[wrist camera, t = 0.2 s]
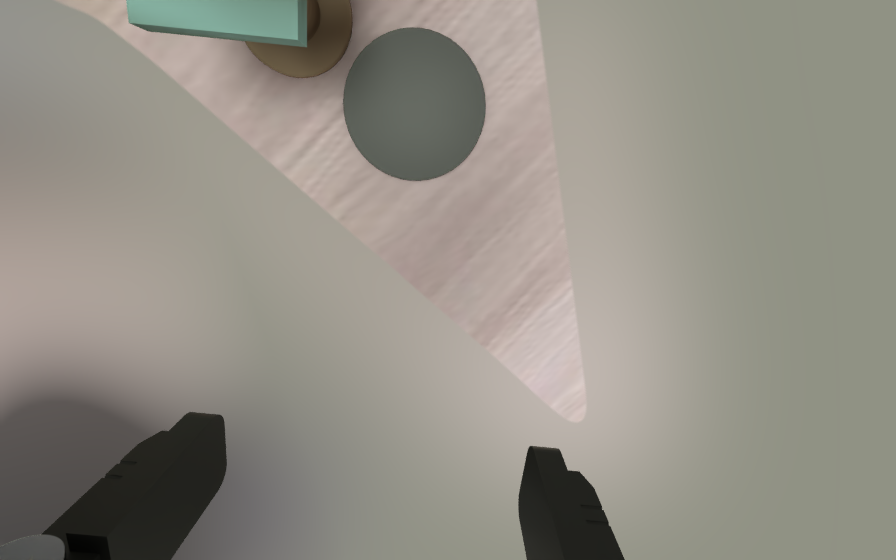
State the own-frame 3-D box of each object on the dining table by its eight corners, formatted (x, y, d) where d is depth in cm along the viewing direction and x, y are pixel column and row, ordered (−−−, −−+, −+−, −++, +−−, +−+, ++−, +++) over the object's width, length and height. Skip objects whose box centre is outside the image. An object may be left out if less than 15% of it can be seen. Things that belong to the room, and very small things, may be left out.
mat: (346, 22, 34) (344, 20, 33) (492, 37, 34) (493, 35, 33) (343, 173, 37) (342, 174, 36) (476, 186, 37) (477, 186, 37)
